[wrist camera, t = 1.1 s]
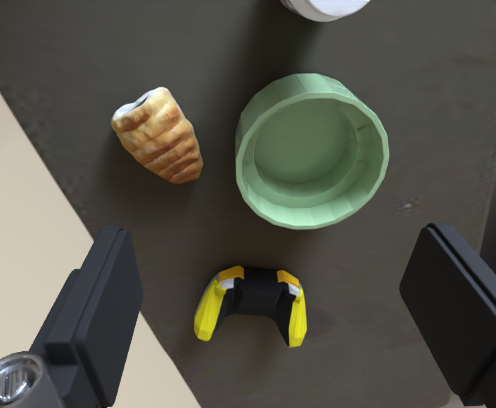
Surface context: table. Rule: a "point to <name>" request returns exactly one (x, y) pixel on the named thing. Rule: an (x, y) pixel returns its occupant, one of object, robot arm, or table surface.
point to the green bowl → (308, 152)
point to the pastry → (159, 136)
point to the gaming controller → (253, 301)
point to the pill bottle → (324, 8)
